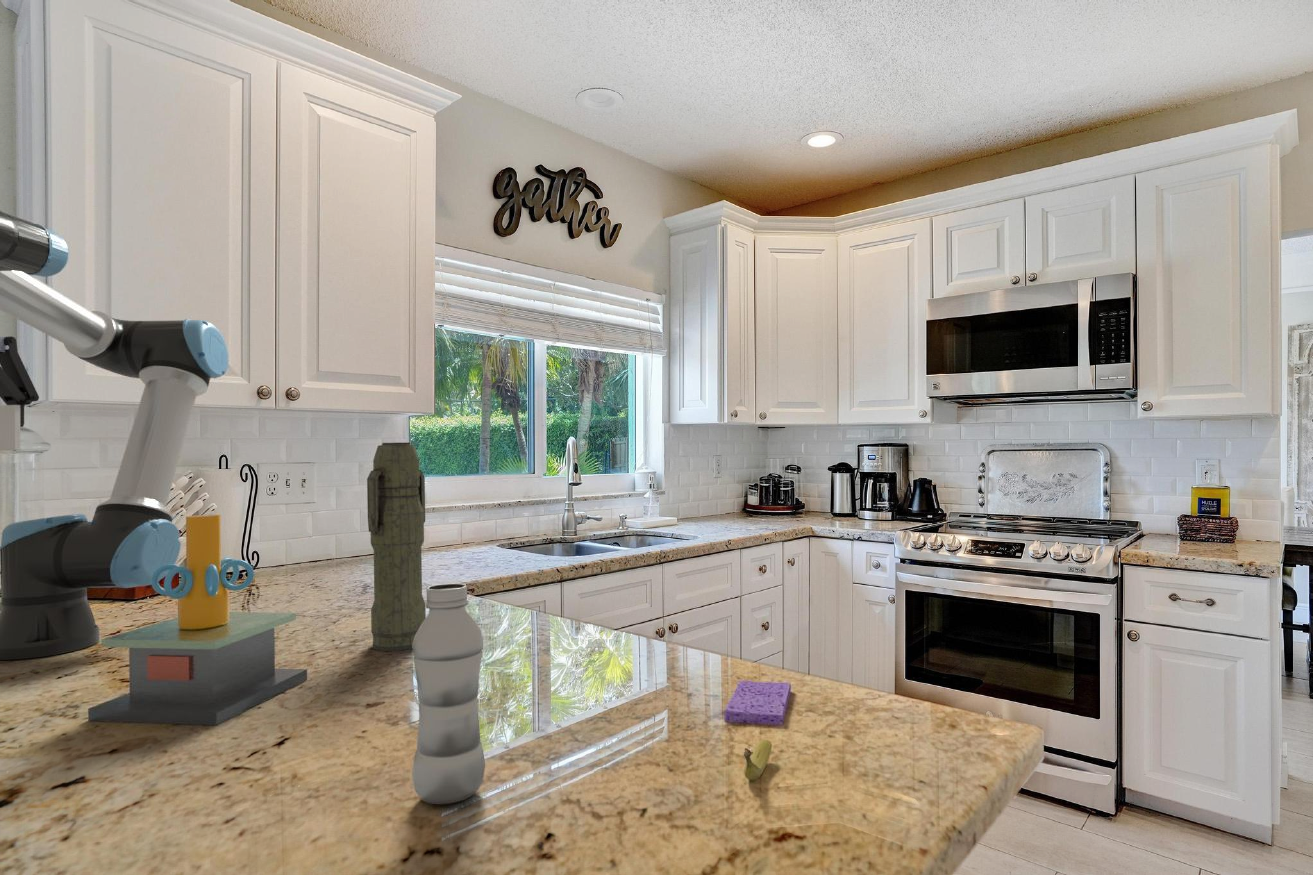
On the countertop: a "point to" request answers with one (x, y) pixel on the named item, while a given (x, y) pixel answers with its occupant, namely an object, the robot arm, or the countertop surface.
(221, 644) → the grey green pedestal stand
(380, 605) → the thermos
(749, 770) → the banana
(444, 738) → the plastic bottle
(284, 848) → the countertop surface
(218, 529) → the cylinder
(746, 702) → the sponges
